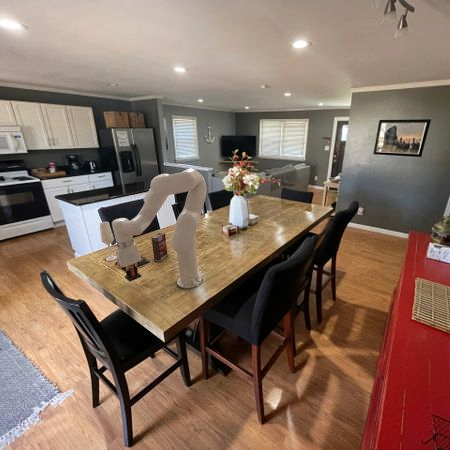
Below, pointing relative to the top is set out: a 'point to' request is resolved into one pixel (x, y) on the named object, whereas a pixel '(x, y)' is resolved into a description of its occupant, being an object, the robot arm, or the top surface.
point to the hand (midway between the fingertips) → (132, 274)
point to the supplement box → (159, 247)
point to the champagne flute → (107, 238)
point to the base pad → (140, 262)
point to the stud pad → (132, 274)
